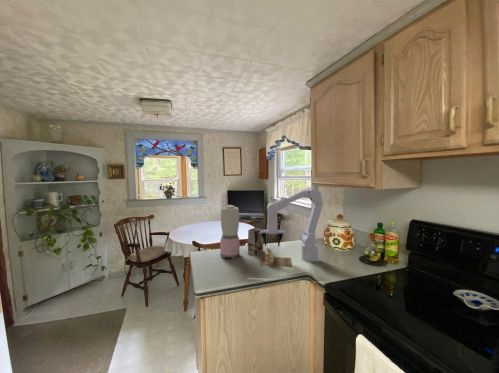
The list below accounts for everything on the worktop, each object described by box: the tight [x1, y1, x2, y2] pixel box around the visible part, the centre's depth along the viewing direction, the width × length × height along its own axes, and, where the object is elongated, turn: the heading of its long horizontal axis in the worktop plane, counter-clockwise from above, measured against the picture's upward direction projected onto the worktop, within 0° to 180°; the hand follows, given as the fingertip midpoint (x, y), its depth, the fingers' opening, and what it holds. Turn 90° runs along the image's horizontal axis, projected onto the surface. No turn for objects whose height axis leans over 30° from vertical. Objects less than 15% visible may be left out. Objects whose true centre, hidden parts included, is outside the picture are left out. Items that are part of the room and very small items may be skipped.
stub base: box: [259, 256, 293, 268], centre depth 129 cm, size 18×13×4 cm
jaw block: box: [264, 247, 274, 265], centre depth 129 cm, size 4×9×6 cm, turn 174°
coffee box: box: [247, 227, 264, 256], centre depth 144 cm, size 9×6×16 cm
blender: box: [219, 204, 241, 260], centre depth 140 cm, size 16×12×32 cm
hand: (272, 245), depth 132 cm, fingers open, 7 cm apart
